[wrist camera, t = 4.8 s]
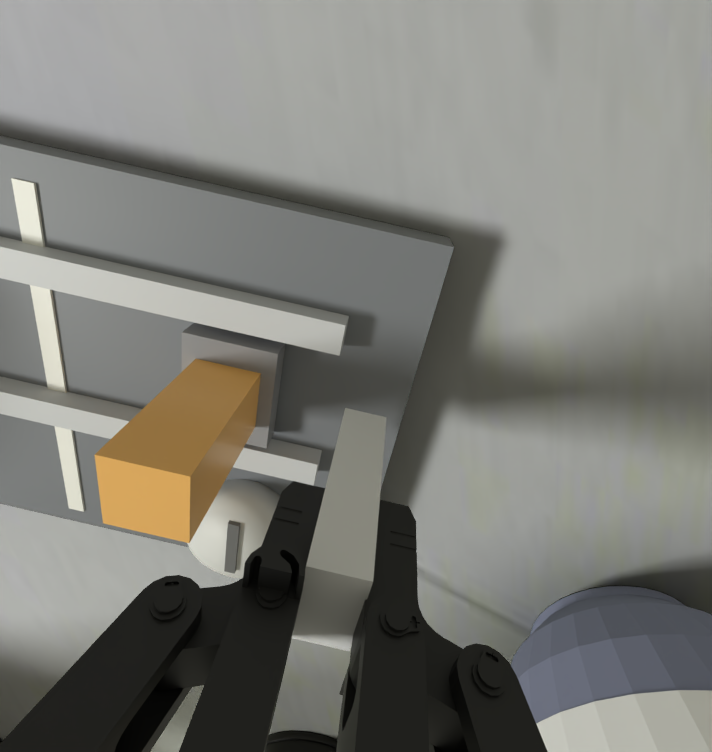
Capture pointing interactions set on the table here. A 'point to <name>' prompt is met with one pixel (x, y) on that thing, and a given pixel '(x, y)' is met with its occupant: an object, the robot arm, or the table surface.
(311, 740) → the french press
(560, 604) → the bowl
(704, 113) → the table surface
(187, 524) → the fader tab
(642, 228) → the table surface
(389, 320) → the console board
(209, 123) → the table surface
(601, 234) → the table surface
